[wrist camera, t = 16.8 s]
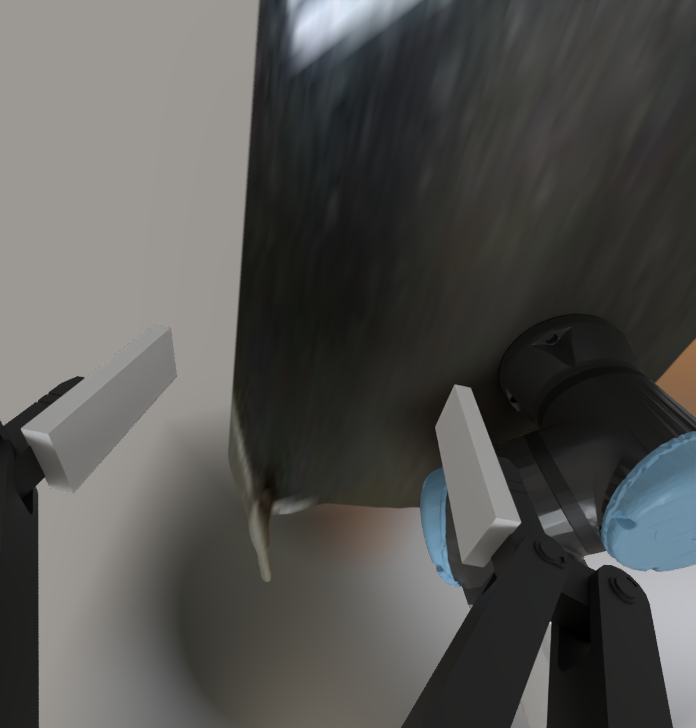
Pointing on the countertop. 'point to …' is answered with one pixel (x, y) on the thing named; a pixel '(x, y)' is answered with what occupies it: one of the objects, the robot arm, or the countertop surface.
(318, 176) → the countertop surface
